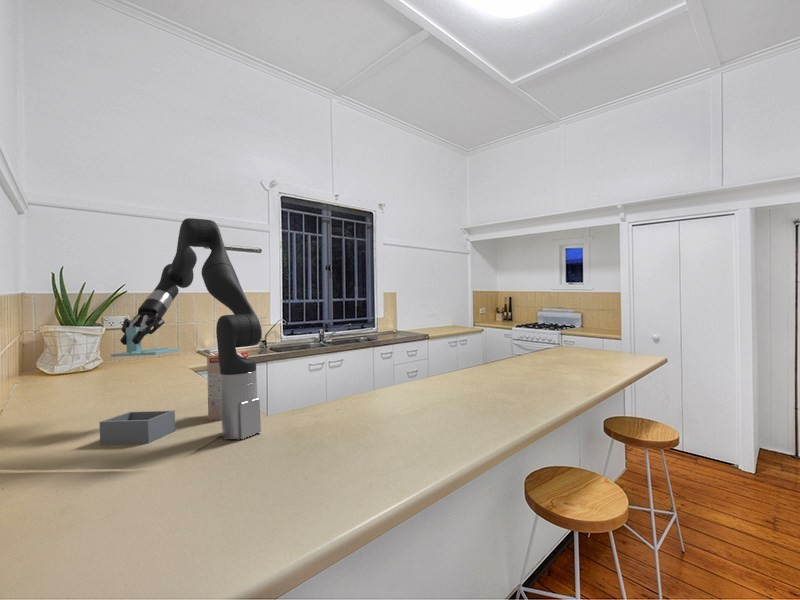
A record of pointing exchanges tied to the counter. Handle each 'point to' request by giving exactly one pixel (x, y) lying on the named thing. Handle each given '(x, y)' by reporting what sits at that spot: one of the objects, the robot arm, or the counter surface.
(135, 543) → the counter surface
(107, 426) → the tub
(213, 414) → the cracker box
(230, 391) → the robot arm
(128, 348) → the lid
